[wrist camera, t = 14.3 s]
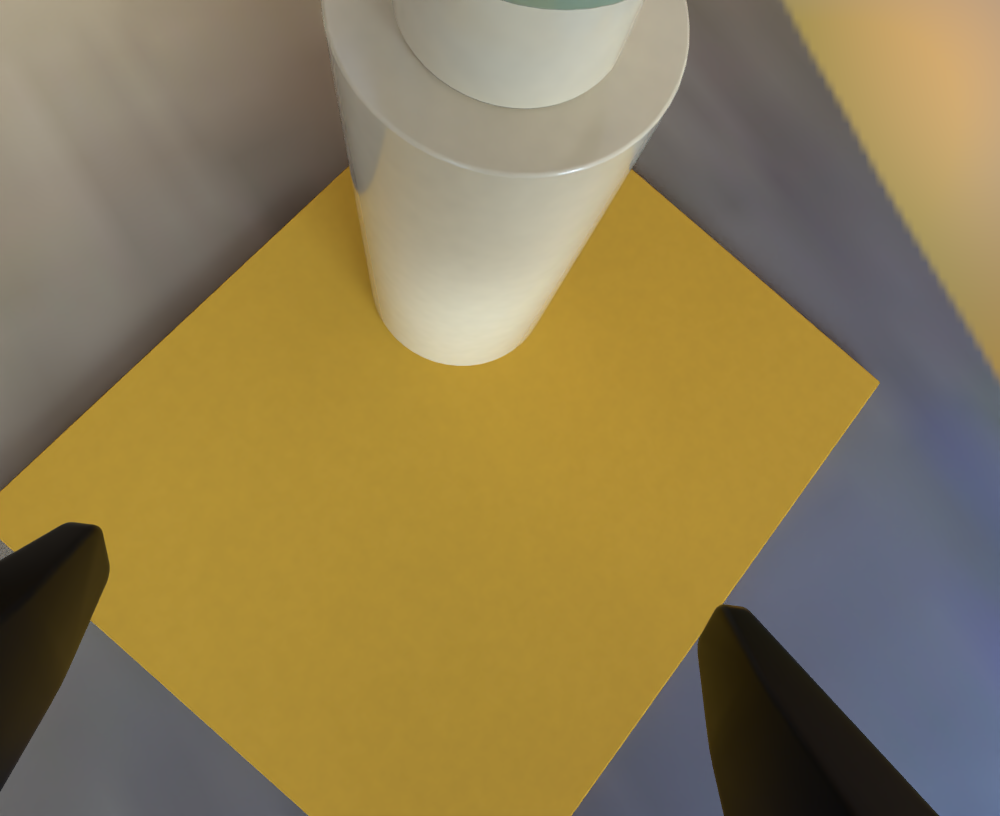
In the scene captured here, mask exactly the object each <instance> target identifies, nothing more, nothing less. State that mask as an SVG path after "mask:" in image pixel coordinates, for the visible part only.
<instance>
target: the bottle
mask: <svg viewBox="0 0 1000 816" xmlns="http://www.w3.org/2000/svg"><path fill="white" fill-rule="evenodd" d="M321 11H322V17H323V23H324V29H325V35H326V40H327V46H328V51H329V57H330V62H331V68H332V74H333V79H334V85H335V90H336V96H337V101H338V107H339V112H340V118H341V123H342V129H343V135H344V140H345V146H346V151H347V157H348V162H349V168H350V173H351V179H352V184H353V190H354V196H355V201H356V207H357V212H358V218H359V223H360V229H361V234H362V240H363V245H364V251H365V257H366V262H367V268H368V273H369V279H370V284H371V290H372V295H373V299H374V303H375V306H376V309H377V311H378V313H379V315H380V317H381V319H382V321H383V322H384V324H385V326H386V327H387V329H388V330H389V331H390V332H391V333H392V335H393V336H394V337H395V338H396V339H397V340H398V341H399V342H401V343H402V344H403V345H404V346H405V347H407V348H408V349H410V350H411V351H412V352H414V353H416V354H418V355H420V356H422V357H424V358H426V359H429V360H431V361H434V362H438V363H442V364H446V365H455V366H471V365H478V364H483V363H487V362H490V361H493V360H496V359H498V358H500V357H503V356H505V355H506V354H508V353H509V352H511V351H513V350H514V349H515V348H517V347H518V346H519V345H520V344H521V343H523V341H524V340H525V339H526V338H527V337H528V336H529V335H530V334H531V332H532V331H533V329H534V328H535V327H536V325H537V323H538V322H539V320H540V318H541V317H542V315H543V313H544V312H545V310H546V309H547V307H548V305H549V304H550V302H551V300H552V299H553V297H554V295H555V294H556V292H557V290H558V289H559V287H560V286H561V284H562V282H563V281H564V279H565V277H566V276H567V274H568V272H569V271H570V269H571V267H572V266H573V264H574V263H575V261H576V259H577V258H578V256H579V254H580V253H581V251H582V249H583V248H584V246H585V244H586V243H587V241H588V239H589V238H590V236H591V235H592V233H593V231H594V230H595V228H596V226H597V225H598V223H599V221H600V220H601V218H602V216H603V215H604V213H605V212H606V210H607V208H608V207H609V205H610V203H611V202H612V200H613V198H614V197H615V195H616V193H617V192H618V190H619V189H620V187H621V185H622V184H623V182H624V180H625V179H626V177H627V175H628V174H629V172H630V170H631V169H632V167H633V166H634V164H635V162H636V161H637V159H638V157H639V156H640V154H641V152H642V151H643V149H644V147H645V146H646V144H647V143H648V141H649V139H650V138H651V136H652V134H653V133H654V131H655V129H656V128H657V126H658V124H659V123H660V121H661V120H662V118H663V116H664V115H665V113H666V111H667V110H668V108H669V106H670V105H671V103H672V101H673V99H674V97H675V95H676V93H677V91H678V89H679V87H680V83H681V80H682V77H683V74H684V71H685V68H686V63H687V57H688V51H689V17H688V8H687V2H686V0H321Z"/></svg>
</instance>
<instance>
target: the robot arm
mask: <svg viewBox="0 0 1000 816" xmlns="http://www.w3.org/2000/svg"><path fill="white" fill-rule="evenodd" d="M109 572H110V564H109V559H108V554H107V549H106V545H105V540H104V535H103V532H102V529H101V528H100V527H99V526H97V525H93V524H85V523H77V522H67V523H64V524H62V525H60V526H58V527H56V528H55V529H53V530H51V531H50V532H48V533H46V534H45V535H43V536H41V537H39V538H38V539H36V540H34V541H33V542H31V543H29V544H27V545H26V546H24V547H22V548H21V549H19V550H17V551H15V552H14V553H12V554H10V555H9V556H7V557H5V558H3V559H2V560H0V791H1V789H2V788H3V786H4V784H5V782H6V781H7V779H8V777H9V776H10V774H11V772H12V770H13V769H14V767H15V765H16V763H17V762H18V760H19V758H20V756H21V755H22V753H23V751H24V750H25V748H26V746H27V744H28V743H29V741H30V739H31V737H32V736H33V734H34V732H35V730H36V729H37V727H38V725H39V724H40V722H41V720H42V718H43V717H44V715H45V713H46V711H47V710H48V708H49V706H50V704H51V703H52V701H53V699H54V697H55V695H56V693H57V692H58V690H59V688H60V686H61V684H62V682H63V680H64V678H65V676H66V674H67V671H68V669H69V667H70V665H71V663H72V660H73V658H74V656H75V654H76V651H77V649H78V647H79V644H80V642H81V640H82V638H83V635H84V633H85V631H86V629H87V626H88V624H89V622H90V620H91V617H92V615H93V613H94V611H95V608H96V606H97V604H98V601H99V599H100V597H101V595H102V592H103V590H104V588H105V586H106V583H107V581H108V577H109ZM698 660H699V668H700V676H701V685H702V693H703V702H704V710H705V719H706V727H707V735H708V742H709V749H710V755H711V760H712V765H713V769H714V774H715V778H716V783H717V787H718V792H719V796H720V801H721V805H722V809H723V814H724V816H939V815H938V814H937V813H936V812H935V811H934V810H933V809H932V808H931V806H930V805H929V804H928V803H927V802H926V801H925V800H924V799H923V798H922V797H921V796H920V795H919V794H918V792H917V791H916V790H915V789H914V788H913V787H912V786H911V785H910V784H909V783H908V782H907V781H906V779H905V778H904V777H903V776H902V775H901V774H900V773H899V772H898V771H897V770H896V769H895V768H894V766H893V765H892V764H891V763H890V762H889V761H888V760H887V759H886V758H885V757H884V756H883V755H882V754H881V752H880V751H879V750H878V749H877V748H876V747H875V746H874V745H873V744H872V743H871V742H870V741H869V739H868V738H867V737H866V736H865V735H864V734H863V733H862V732H861V731H860V730H859V729H858V728H857V726H856V725H855V724H854V723H853V722H852V721H851V720H850V719H849V718H848V717H847V716H846V715H845V713H844V712H843V711H842V710H841V709H840V708H839V707H838V706H837V705H836V704H835V703H834V702H833V701H832V699H831V698H830V697H829V696H828V695H827V694H826V693H825V692H824V691H823V690H822V689H821V688H820V686H819V685H818V684H817V683H816V682H815V681H814V680H813V679H812V678H811V677H810V676H809V675H808V673H807V672H806V671H805V670H804V669H803V668H802V667H801V666H800V665H799V664H798V663H797V662H796V660H795V659H794V658H793V657H792V656H791V655H790V654H789V653H788V652H787V651H786V650H785V649H784V648H783V646H782V645H781V644H780V643H779V642H778V641H777V640H776V639H775V638H774V637H773V636H772V635H771V633H770V632H769V631H768V630H767V629H766V628H765V627H764V626H763V625H762V624H761V623H760V622H759V620H758V619H757V618H756V617H755V616H754V615H753V614H752V613H751V612H750V611H749V610H748V609H746V608H744V607H740V606H732V605H719V606H718V607H716V609H715V610H714V612H713V614H712V616H711V617H710V619H709V621H708V623H707V624H706V626H705V628H704V630H703V632H702V633H701V635H700V638H699V641H698Z"/></svg>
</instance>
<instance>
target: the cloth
mask: <svg viewBox="0 0 1000 816" xmlns="http://www.w3.org/2000/svg"><path fill="white" fill-rule="evenodd" d="M879 383H880V382H879V381H878V380H877V379H876V378H874V377H873V376H872V375H871V374H870V373H869V372H867V371H866V370H865V369H864V368H863V367H862V366H860V365H859V364H858V363H857V362H856V361H855V360H853V359H852V358H851V357H850V356H849V355H848V354H847V353H845V352H844V351H843V350H842V349H841V348H840V347H838V346H837V345H836V344H835V343H834V342H833V341H831V340H830V339H829V338H828V337H827V336H826V335H824V334H823V333H822V332H821V331H820V330H819V329H817V328H816V327H815V326H814V325H813V324H812V323H810V322H809V321H808V320H807V319H806V318H805V317H803V316H802V315H801V314H800V313H799V312H798V311H796V310H795V309H794V308H793V307H792V306H791V305H789V304H788V303H787V302H786V301H785V300H784V299H782V298H781V297H780V296H779V295H778V294H777V293H775V292H774V291H773V290H772V289H771V288H770V287H768V286H767V285H766V284H765V283H764V282H763V281H761V280H760V279H759V278H758V277H757V276H756V275H754V274H753V273H752V272H751V271H750V270H749V269H747V268H746V267H745V266H744V265H743V264H742V263H740V262H739V261H738V260H737V259H736V258H735V257H733V256H732V255H731V254H730V253H729V252H728V251H726V250H725V249H724V248H723V247H722V246H721V245H719V244H718V243H717V242H716V241H715V240H714V239H712V238H711V237H710V236H709V235H708V234H707V233H706V232H704V231H703V230H702V229H701V228H700V227H699V226H697V225H696V224H695V223H694V222H693V221H692V220H690V219H689V218H688V217H687V216H686V215H685V214H683V213H682V212H681V211H680V210H679V209H678V208H676V207H675V206H674V205H673V204H672V203H671V202H669V201H668V200H667V199H666V198H665V197H664V196H662V195H661V194H660V193H659V192H658V191H657V190H655V189H654V188H653V187H652V186H651V185H650V184H648V183H647V182H646V181H645V180H644V179H643V178H641V177H640V176H639V175H638V174H637V173H636V172H634V171H633V170H632V169H631V170H630V172H629V174H628V175H627V177H626V179H625V180H624V182H623V184H622V185H621V187H620V189H619V190H618V192H617V193H616V195H615V197H614V198H613V200H612V202H611V203H610V205H609V207H608V208H607V210H606V212H605V213H604V215H603V216H602V218H601V220H600V221H599V223H598V225H597V226H596V228H595V230H594V231H593V233H592V235H591V236H590V238H589V239H588V241H587V243H586V244H585V246H584V248H583V249H582V251H581V253H580V254H579V256H578V258H577V259H576V261H575V263H574V264H573V266H572V267H571V269H570V271H569V272H568V274H567V276H566V277H565V279H564V281H563V282H562V284H561V286H560V287H559V289H558V290H557V292H556V294H555V295H554V297H553V299H552V300H551V302H550V304H549V305H548V307H547V309H546V310H545V312H544V313H543V315H542V317H541V318H540V320H539V322H538V323H537V325H536V327H535V328H534V329H533V331H532V332H531V334H530V335H529V336H528V337H527V338H526V339H525V340H524V341H523V343H521V344H520V345H519V346H518V347H517V348H515V349H514V350H513V351H511V352H509V353H508V354H506V355H505V356H503V357H500V358H498V359H496V360H493V361H490V362H487V363H483V364H478V365H471V366H455V365H446V364H442V363H438V362H434V361H431V360H429V359H426V358H424V357H422V356H420V355H418V354H416V353H414V352H412V351H411V350H410V349H408V348H407V347H405V346H404V345H403V344H402V343H401V342H399V341H398V340H397V339H396V338H395V337H394V336H393V335H392V333H391V332H390V331H389V330H388V329H387V327H386V326H385V324H384V322H383V321H382V319H381V317H380V315H379V313H378V311H377V309H376V306H375V303H374V299H373V295H372V290H371V284H370V279H369V273H368V268H367V262H366V257H365V251H364V245H363V240H362V234H361V229H360V223H359V218H358V212H357V207H356V201H355V196H354V190H353V184H352V179H351V173H350V168H349V166H348V167H347V168H346V169H345V170H344V171H343V172H342V173H341V174H340V175H339V176H338V177H336V178H335V179H334V180H333V181H332V182H331V183H330V184H329V185H328V186H327V187H326V188H325V189H324V190H323V191H321V192H320V193H319V194H318V195H317V196H316V197H315V198H314V199H313V200H312V201H311V202H310V203H309V204H308V205H306V206H305V207H304V208H303V209H302V210H301V211H300V212H299V213H298V214H297V215H296V216H295V217H294V218H293V219H292V220H290V221H289V222H288V223H287V224H286V225H285V226H284V227H283V228H282V229H281V230H280V231H279V232H278V233H277V234H275V235H274V236H273V237H272V238H271V239H270V240H269V241H268V242H267V243H266V244H265V245H264V246H263V247H262V248H260V249H259V250H258V251H257V252H256V253H255V254H254V255H253V256H252V257H251V258H250V259H249V260H248V261H247V262H245V263H244V264H243V265H242V266H241V267H240V268H239V269H238V270H237V271H236V272H235V273H234V274H233V275H232V276H230V277H229V278H228V279H227V280H226V281H225V282H224V283H223V284H222V285H221V286H220V287H219V288H218V289H217V290H215V291H214V292H213V293H212V294H211V295H210V296H209V297H208V298H207V299H206V300H205V301H204V302H203V303H202V304H200V305H199V306H198V307H197V308H196V309H195V310H194V311H193V312H192V313H191V314H190V315H189V316H188V317H187V318H186V319H184V320H183V321H182V322H181V323H180V324H179V325H178V326H177V327H176V328H175V329H174V330H173V331H172V332H171V333H169V334H168V335H167V336H166V337H165V338H164V339H163V340H162V341H161V342H160V343H159V344H158V345H157V346H156V347H154V348H153V349H152V350H151V351H150V352H149V353H148V354H147V355H146V356H145V357H144V358H143V359H142V360H141V361H139V362H138V363H137V364H136V365H135V366H134V367H133V368H132V369H131V370H130V371H129V372H128V373H127V374H126V375H124V376H123V377H122V378H121V379H120V380H119V381H118V382H117V383H116V384H115V385H114V386H113V387H112V388H111V389H109V390H108V391H107V392H106V393H105V394H104V395H103V396H102V397H101V398H100V399H99V400H98V401H97V402H96V403H94V404H93V405H92V406H91V407H90V408H89V409H88V410H87V411H86V412H85V413H84V414H83V415H82V416H81V417H79V418H78V419H77V420H76V421H75V422H74V423H73V424H72V425H71V426H70V427H69V428H68V429H67V430H66V431H65V432H63V433H62V434H61V435H60V436H59V437H58V438H57V439H56V440H55V441H54V442H53V443H52V444H51V445H50V446H48V447H47V448H46V449H45V450H44V451H43V452H42V453H41V454H40V455H39V456H38V457H37V458H36V459H35V460H33V461H32V462H31V463H30V464H29V465H28V466H27V467H26V468H25V469H24V470H23V471H22V472H21V473H20V474H18V475H17V476H16V477H15V478H14V479H13V480H12V481H11V482H10V483H9V484H8V485H7V486H6V487H5V488H3V489H2V490H1V491H0V539H1V540H2V541H3V542H4V543H5V544H6V545H7V546H8V547H10V548H11V549H12V550H13V551H14V552H15V551H17V550H19V549H21V548H22V547H24V546H26V545H27V544H29V543H31V542H33V541H34V540H36V539H38V538H39V537H41V536H43V535H45V534H46V533H48V532H50V531H51V530H53V529H55V528H56V527H58V526H60V525H62V524H64V523H67V522H77V523H85V524H93V525H97V526H99V527H100V528H101V529H102V532H103V535H104V540H105V545H106V549H107V554H108V559H109V564H110V572H109V577H108V581H107V583H106V586H105V588H104V590H103V592H102V595H101V597H100V599H99V601H98V604H97V606H96V608H95V611H94V613H93V615H92V617H91V621H92V622H93V623H94V624H95V625H97V626H98V627H99V628H100V629H101V630H102V631H103V632H104V633H106V634H107V635H108V636H109V637H110V638H111V639H112V640H113V641H114V642H116V643H117V644H118V645H119V646H120V647H121V648H122V649H123V650H124V651H126V652H127V653H128V654H129V655H130V656H131V657H132V658H133V659H135V660H136V661H137V662H138V663H139V664H140V665H141V666H142V667H143V668H145V669H146V670H147V671H148V672H149V673H150V674H151V675H152V676H153V677H155V678H156V679H157V680H158V681H159V682H160V683H161V684H162V685H164V686H165V687H166V688H167V689H168V690H169V691H170V692H171V693H172V694H174V695H175V696H176V697H177V698H178V699H179V700H180V701H181V702H182V703H184V704H185V705H186V706H187V707H188V708H189V709H190V710H191V711H193V712H194V713H195V714H196V715H197V716H198V717H199V718H200V719H201V720H203V721H204V722H205V723H206V724H207V725H208V726H209V727H210V728H212V729H213V730H214V731H215V732H216V733H217V734H218V735H219V736H220V737H222V738H223V739H224V740H225V741H226V742H227V743H228V744H229V745H230V746H232V747H233V748H234V749H235V750H236V751H237V752H238V753H239V754H241V755H242V756H243V757H244V758H245V759H246V760H247V761H248V762H249V763H251V764H252V765H253V766H254V767H255V768H256V769H257V770H258V771H259V772H261V773H262V774H263V775H264V776H265V777H266V778H267V779H268V780H270V781H271V782H272V783H273V784H274V785H275V786H276V787H277V788H278V789H280V790H281V791H282V792H283V793H284V794H285V795H286V796H287V797H288V798H290V799H291V800H292V801H293V802H294V803H295V804H296V805H297V806H299V807H300V808H301V809H302V810H303V811H304V812H305V813H306V814H307V815H309V816H571V815H572V814H573V813H574V811H575V810H576V808H577V807H578V806H579V804H580V803H581V801H582V800H583V799H584V797H585V796H586V794H587V793H588V792H589V790H590V789H591V787H592V786H593V785H594V783H595V782H596V780H597V779H598V778H599V776H600V775H601V773H602V772H603V771H604V769H605V768H606V766H607V765H608V764H609V762H610V761H611V759H612V758H613V757H614V755H615V754H616V752H617V751H618V750H619V748H620V747H621V745H622V744H623V743H624V741H625V740H626V738H627V737H628V736H629V734H630V733H631V731H632V730H633V729H634V727H635V726H636V724H637V723H638V721H639V720H640V719H641V717H642V716H643V714H644V713H645V712H646V710H647V709H648V707H649V706H650V705H651V703H652V702H653V700H654V699H655V698H656V696H657V695H658V693H659V692H660V691H661V689H662V688H663V686H664V685H665V684H666V682H667V681H668V679H669V678H670V677H671V675H672V674H673V672H674V671H675V670H676V668H677V667H678V665H679V664H680V663H681V661H682V660H683V658H684V657H685V656H686V654H687V653H688V651H689V650H690V649H691V647H692V646H693V644H694V643H695V642H696V640H697V639H698V637H699V636H700V635H701V633H702V632H703V630H704V628H705V626H706V624H707V623H708V621H709V619H710V617H711V616H712V614H713V612H714V610H715V609H716V607H718V606H719V605H722V604H723V602H724V601H725V599H726V598H727V597H728V595H729V594H730V592H731V591H732V590H733V588H734V587H735V585H736V584H737V583H738V581H739V580H740V578H741V577H742V576H743V574H744V573H745V571H746V570H747V569H748V567H749V566H750V564H751V563H752V562H753V560H754V559H755V557H756V556H757V555H758V553H759V552H760V550H761V549H762V548H763V546H764V545H765V543H766V542H767V540H768V539H769V538H770V536H771V535H772V533H773V532H774V531H775V529H776V528H777V526H778V525H779V524H780V522H781V521H782V519H783V518H784V517H785V515H786V514H787V512H788V511H789V510H790V508H791V507H792V505H793V504H794V503H795V501H796V500H797V498H798V497H799V496H800V494H801V493H802V491H803V490H804V489H805V487H806V486H807V484H808V483H809V482H810V480H811V479H812V477H813V476H814V475H815V473H816V472H817V470H818V469H819V468H820V466H821V465H822V463H823V462H824V461H825V459H826V458H827V456H828V455H829V454H830V452H831V451H832V449H833V448H834V446H835V445H836V444H837V442H838V441H839V439H840V438H841V437H842V435H843V434H844V432H845V431H846V430H847V428H848V427H849V425H850V424H851V423H852V421H853V420H854V418H855V417H856V416H857V414H858V413H859V411H860V410H861V409H862V407H863V406H864V404H865V403H866V402H867V400H868V399H869V397H870V396H871V395H872V393H873V392H874V390H875V389H876V388H877V386H878V385H879Z"/></svg>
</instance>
